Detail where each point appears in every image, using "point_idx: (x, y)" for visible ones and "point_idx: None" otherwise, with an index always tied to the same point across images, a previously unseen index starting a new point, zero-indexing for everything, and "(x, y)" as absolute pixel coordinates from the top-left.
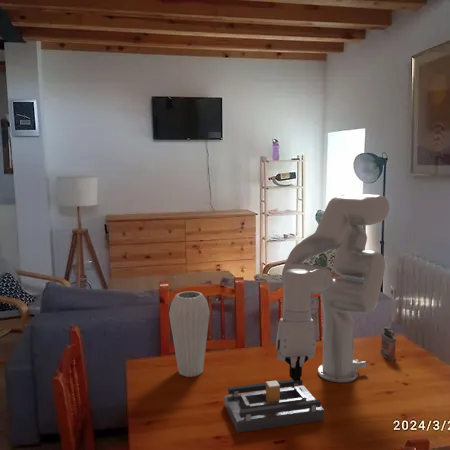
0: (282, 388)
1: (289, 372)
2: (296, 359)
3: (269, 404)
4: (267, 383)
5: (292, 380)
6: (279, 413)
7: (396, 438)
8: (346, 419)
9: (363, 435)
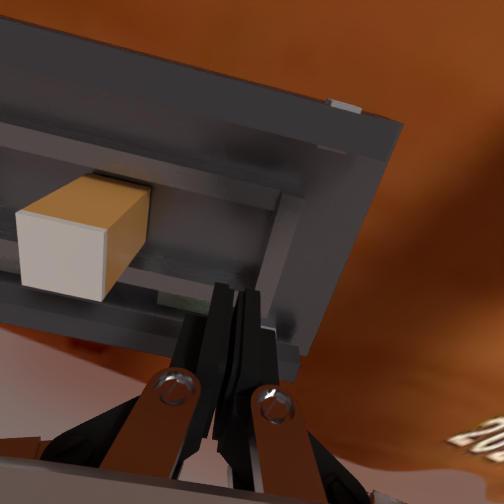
0: None
1: (182, 324)
2: (252, 429)
3: None
4: (20, 242)
5: (323, 124)
6: (110, 301)
7: (412, 461)
8: (376, 354)
9: (346, 423)
